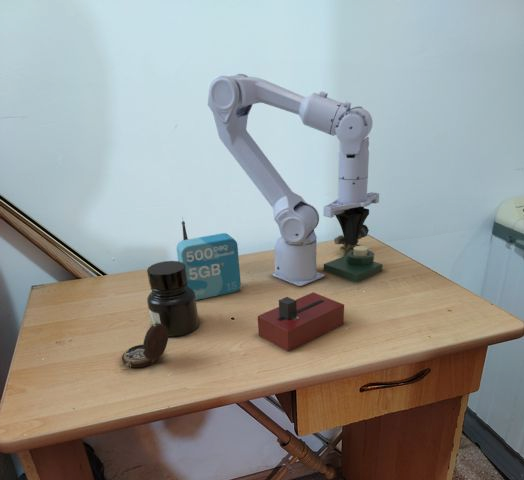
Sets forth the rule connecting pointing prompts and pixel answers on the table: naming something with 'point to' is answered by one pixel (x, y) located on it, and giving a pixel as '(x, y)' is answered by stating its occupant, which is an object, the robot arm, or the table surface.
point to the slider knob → (287, 308)
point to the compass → (147, 348)
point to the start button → (360, 251)
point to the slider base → (301, 321)
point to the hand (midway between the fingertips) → (350, 244)
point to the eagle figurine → (347, 247)
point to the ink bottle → (172, 298)
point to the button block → (354, 266)
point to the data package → (210, 264)
